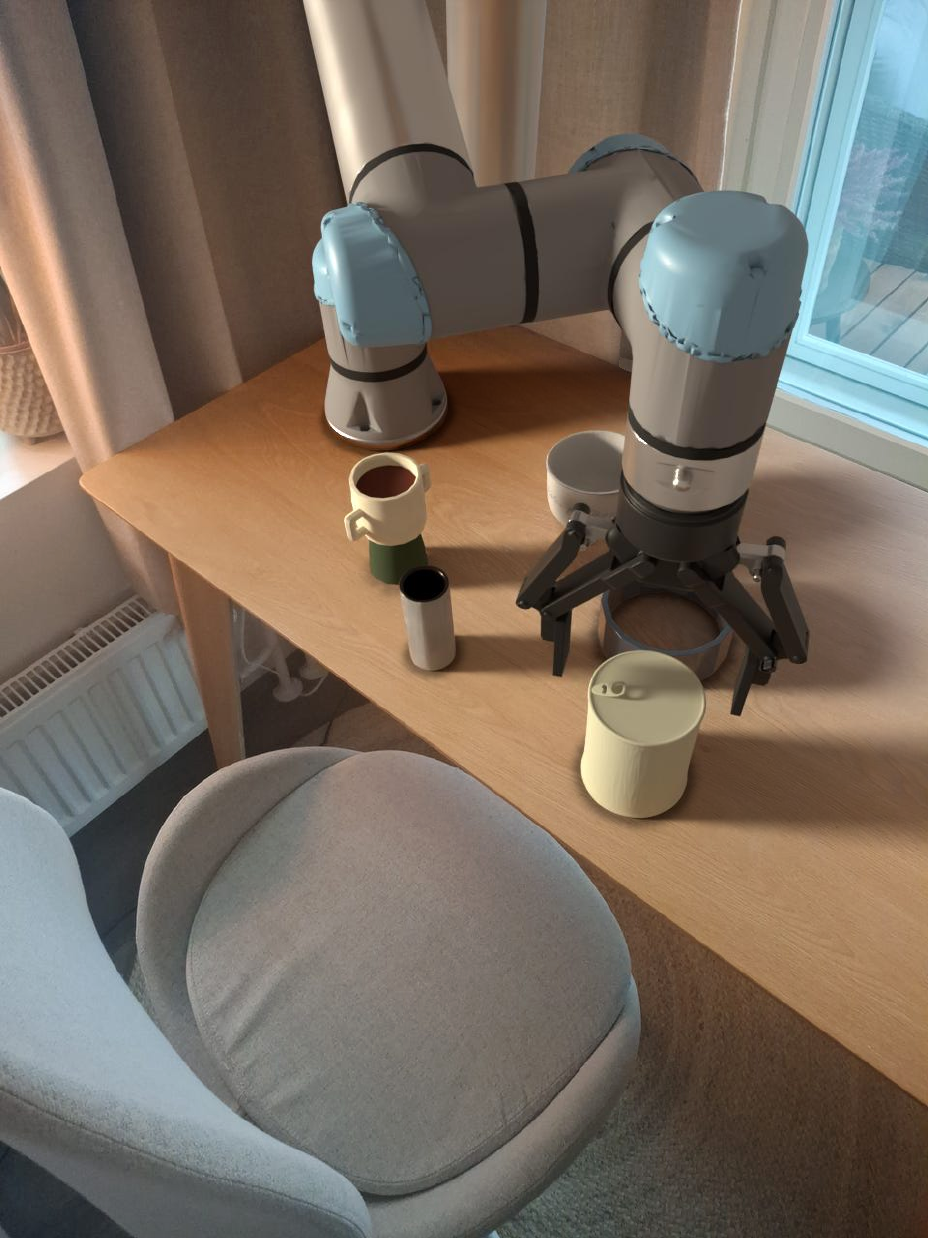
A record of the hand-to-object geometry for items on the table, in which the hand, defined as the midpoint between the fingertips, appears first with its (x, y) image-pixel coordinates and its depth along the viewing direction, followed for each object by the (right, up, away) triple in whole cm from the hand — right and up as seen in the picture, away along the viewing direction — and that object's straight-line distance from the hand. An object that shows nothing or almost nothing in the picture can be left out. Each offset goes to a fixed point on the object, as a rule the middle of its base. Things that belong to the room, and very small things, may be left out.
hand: (647, 681), depth 70 cm
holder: (+5, +3, +19) cm, 20 cm away
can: (+1, -9, +10) cm, 13 cm away
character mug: (-21, +10, +27) cm, 36 cm away
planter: (-17, +1, +19) cm, 26 cm away
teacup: (+2, +16, +30) cm, 34 cm away
